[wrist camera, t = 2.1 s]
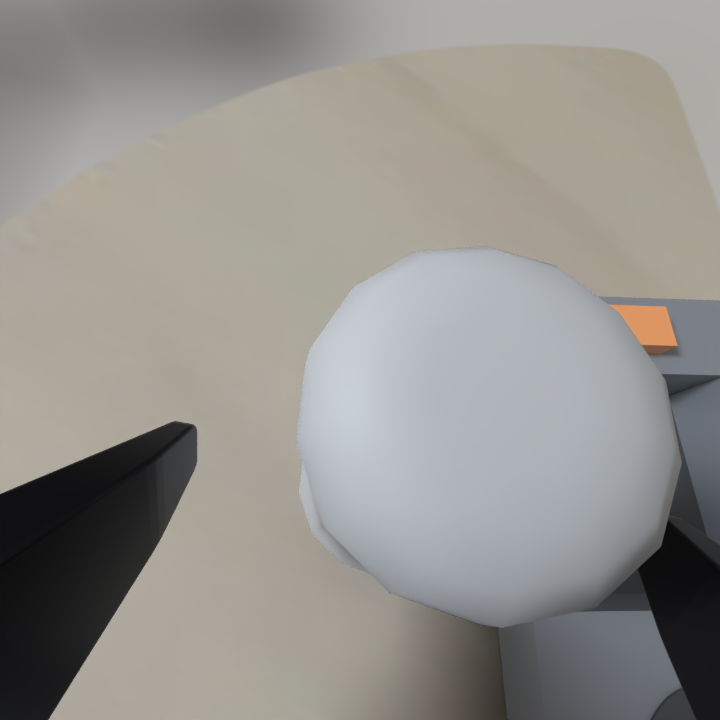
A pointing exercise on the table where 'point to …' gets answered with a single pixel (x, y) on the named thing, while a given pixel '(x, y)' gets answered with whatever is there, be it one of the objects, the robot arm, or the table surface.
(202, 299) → the table surface
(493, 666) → the table surface
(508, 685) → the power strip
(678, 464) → the salt shaker
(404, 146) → the table surface
